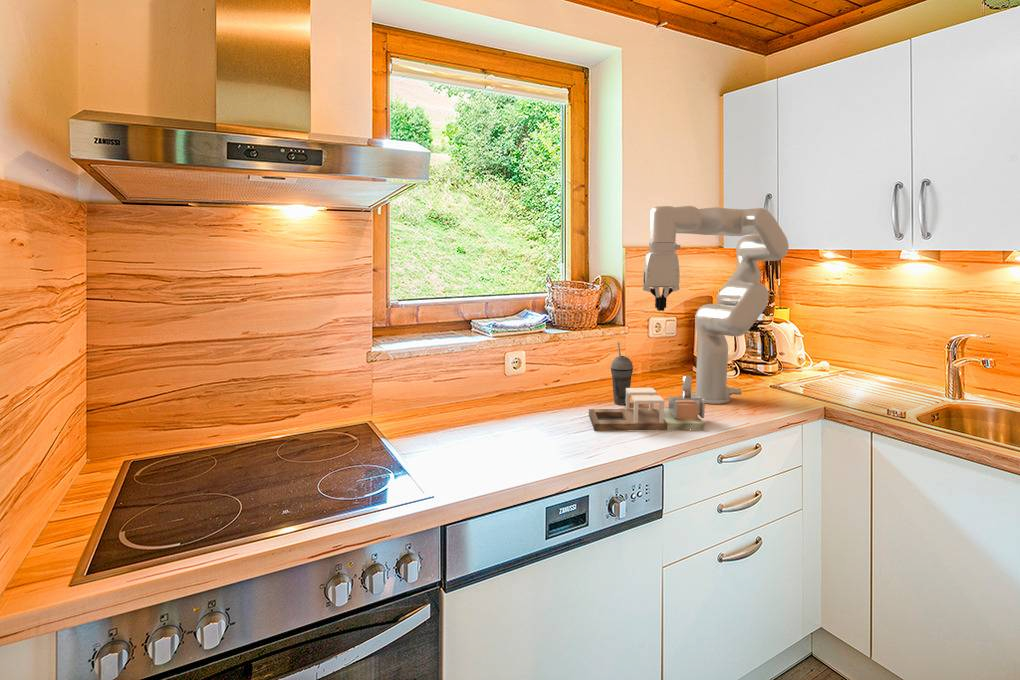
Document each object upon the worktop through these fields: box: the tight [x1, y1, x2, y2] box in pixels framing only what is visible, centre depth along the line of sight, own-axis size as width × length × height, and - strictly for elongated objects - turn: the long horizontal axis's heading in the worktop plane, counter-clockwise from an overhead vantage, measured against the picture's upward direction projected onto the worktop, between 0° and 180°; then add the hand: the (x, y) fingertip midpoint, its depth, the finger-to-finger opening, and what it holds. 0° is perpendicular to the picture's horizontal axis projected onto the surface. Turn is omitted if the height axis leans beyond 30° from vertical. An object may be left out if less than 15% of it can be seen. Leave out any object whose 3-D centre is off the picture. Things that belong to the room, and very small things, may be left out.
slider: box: [668, 375, 706, 419], centre depth 159 cm, size 8×7×11 cm
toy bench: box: [625, 387, 665, 423], centre depth 160 cm, size 8×14×6 cm, turn 178°
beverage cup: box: [610, 341, 634, 406], centre depth 180 cm, size 7×7×20 cm
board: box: [588, 408, 705, 432], centre depth 160 cm, size 30×14×2 cm, turn 88°
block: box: [675, 400, 699, 419], centre depth 160 cm, size 6×6×4 cm
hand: (660, 310), depth 168 cm, fingers closed
